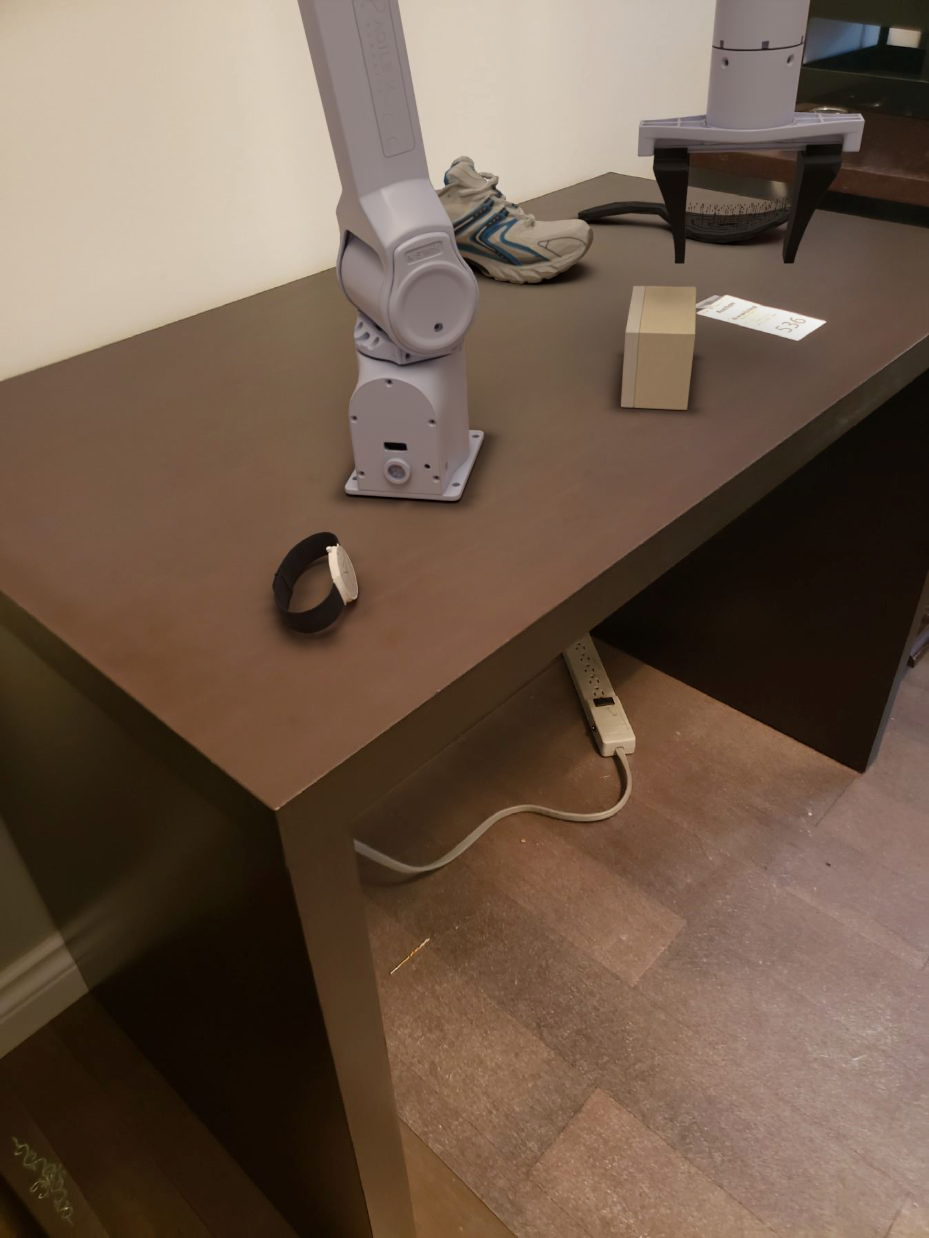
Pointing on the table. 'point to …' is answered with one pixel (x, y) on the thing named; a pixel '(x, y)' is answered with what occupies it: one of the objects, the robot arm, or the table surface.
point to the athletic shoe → (507, 230)
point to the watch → (341, 576)
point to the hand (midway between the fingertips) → (733, 259)
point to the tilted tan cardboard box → (659, 347)
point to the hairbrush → (702, 219)
